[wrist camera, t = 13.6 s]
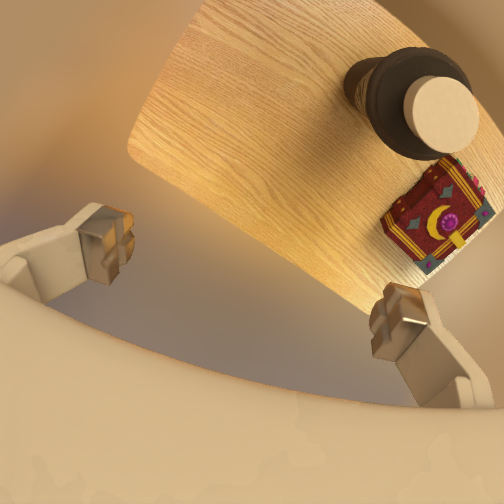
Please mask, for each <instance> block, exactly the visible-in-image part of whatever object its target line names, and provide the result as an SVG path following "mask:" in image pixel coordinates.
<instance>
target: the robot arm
mask: <svg viewBox="0 0 504 504" xmlns="http://www.w3.org/2000/svg"><path fill="white" fill-rule="evenodd" d="M133 225H134V220H133V215H132V214H131V213H130V212H127V211H123V210H120V209H116V208H113V207H109V206H105V205H101V204H98V203H89V204H88V205H87V206H86V207H84V208H83V209H82V210H81V211H80V212H78V213H77V214H76V215H75V216H74V217H72V218H71V219H70V220H69V221H68V222H67V223H66V224H64V225H63V226H60V225H58V226H55V227H52V228H49V229H46V230H43V231H40V232H37V233H34V234H31V235H28V236H25V237H23V238H20V239H17V240H14V241H11V242H9V243H6V244H3V245H1V246H0V504H504V408H495V404H494V400H493V395H492V392H491V388H490V384H489V380H488V378H487V376H486V375H485V374H484V372H483V371H482V370H481V369H480V367H479V366H478V365H477V364H476V363H475V361H474V360H473V359H472V358H471V356H470V355H469V354H468V353H467V352H466V351H465V349H464V348H463V347H462V346H461V345H460V343H459V342H458V341H457V340H456V339H455V338H454V337H453V335H452V334H451V333H450V332H449V331H448V330H447V329H444V328H443V324H442V321H441V318H440V315H439V312H438V309H437V306H436V304H435V301H434V298H433V295H432V294H431V293H430V292H429V291H425V290H421V289H415V288H411V287H408V286H404V285H400V284H396V283H392V282H390V283H389V284H387V285H386V287H385V289H384V290H383V295H384V298H382V299H380V300H378V301H377V302H376V303H375V305H374V307H373V309H372V312H371V315H370V321H369V325H370V330H371V332H372V333H373V334H374V337H373V339H372V340H371V345H372V355H373V358H377V359H382V360H387V361H392V362H396V363H395V364H396V366H397V368H398V369H399V371H400V373H401V375H402V376H403V378H404V380H405V382H406V383H407V385H408V387H409V389H410V391H411V392H412V394H413V396H414V398H415V400H416V402H417V403H418V405H419V407H408V406H397V405H386V404H376V403H368V402H360V401H353V400H346V399H339V398H332V397H326V396H320V395H315V394H309V393H304V392H299V391H293V390H289V389H284V388H279V387H275V386H270V385H266V384H262V383H258V382H253V381H249V380H245V379H242V378H238V377H234V376H230V375H227V374H223V373H219V372H216V371H212V370H209V369H206V368H202V367H199V366H196V365H192V364H189V363H186V362H183V361H180V360H177V359H174V358H171V357H168V356H165V355H162V354H159V353H156V352H154V351H151V350H148V349H145V348H143V347H140V346H137V345H134V344H132V343H129V342H127V341H124V340H122V339H119V338H117V337H114V336H112V335H109V334H107V333H104V332H102V331H100V330H97V329H95V328H93V327H91V326H88V325H86V324H84V323H81V322H79V321H77V320H75V319H73V318H71V317H68V316H66V315H64V314H62V313H60V312H58V311H56V310H54V309H52V308H50V307H48V306H46V305H44V304H46V303H48V302H49V301H51V300H53V299H54V298H56V297H58V296H60V295H61V294H63V293H65V292H67V291H68V290H70V289H72V288H74V287H76V286H78V285H79V284H81V283H83V282H85V281H87V279H90V280H93V281H96V282H99V283H102V284H105V285H108V286H110V284H111V283H112V282H113V280H114V279H115V278H116V277H117V275H118V274H119V267H120V266H122V265H125V264H127V262H128V261H129V259H130V258H131V256H132V253H133V250H134V243H135V240H134V235H133V234H132V232H131V230H130V229H131V227H132V226H133Z"/></svg>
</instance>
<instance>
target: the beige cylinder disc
mask: <svg viewBox="0 0 504 504" xmlns="http://www.w3.org/2000/svg"><path fill="white" fill-rule="evenodd" d="M404 115H405V119H406V122H407V124H408V126H409V128H410V129H411V131H412V132H413V133H414V135H416V136H417V137H418V138H419V139H420V140H421V141H423V142H424V143H425V144H426V145H428V146H429V147H430V148H432V149H434V150H436V151H438V152H442V153H455V152H458V151H461V150H463V149H464V148H466V147H467V146H468V145H469V144H470V143H471V142H472V141H473V139H474V137H475V136H476V133H477V130H478V126H479V111H478V106H477V103H476V101H475V99H474V97H473V95H472V94H471V92H470V91H469V90H468V89H467V88H466V87H465V86H464V85H463V84H462V83H460V82H459V81H457V80H455V79H452V78H448V77H442V76H434V75H430V76H424V77H421V78H419V79H418V80H416V81H415V82H414V83H413V84H412V85H411V86H410V87H409V89H408V91H407V93H406V95H405V99H404Z"/></svg>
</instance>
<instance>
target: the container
mask: <svg viewBox="0 0 504 504" xmlns="http://www.w3.org/2000/svg"><path fill="white" fill-rule="evenodd" d="M430 75H434V76H442V77H448V78H452V79H455V80H457V81H459V82H460V83H462V84H463V85H464V86H465V87H466V88H467V89H468V90H469V91H470V92H471V94H472V95H473V93H472V89H471V86H470V83H469V81H468V79H467V77H466V75H465V74H464V72H463V71H462V69H461V68H460V67H459V66H458V65H457V63H456V62H454V61H453V60H452V59H451V58H449V57H448V56H447V55H445V54H443V53H441V52H439V51H437V50H434V49H431V48H426V47H420V48H417V47H407V48H403V49H400V50H397V51H395V52H393V53H391V54H390V55H388V56H387V57H376V58H368V59H364V60H362V61H359V62H357V63H356V64H354V65H353V66H352V67H351V68H350V70H349V71H348V73H347V75H346V77H345V81H344V92H345V95H346V97H347V99H348V101H349V102H350V104H351V105H352V106H354V107H355V108H356V109H357V110H358V111H359V112H361V113H362V114H363V115H364V116H366V117H367V118H368V119H369V120H370V122H371V124H372V127H373V128H374V130H375V132H376V134H377V135H378V136H379V138H380V139H381V140H382V141H383V142H384V143H385V144H386V145H387V146H388V147H389V148H391V149H392V150H393V151H395V152H396V153H398V154H400V155H402V156H405V157H407V158H411V159H415V160H421V161H429V160H436V159H439V158H442V157H445V156H447V155H449V154H450V153H442V152H438V151H436V150H434V149H432V148H430V147H429V146H428V145H426V144H425V143H424V142H423V141H421V140H420V139H419V138H418V137H417V136H416V135H414V133H413V132H412V131H411V129H410V128H409V126H408V124H407V122H406V119H405V115H404V99H405V95H406V93H407V91H408V89H409V87H410V86H411V85H412V84H413V83H414V82H415V81H416V80H418V79H419V78H421V77H424V76H430Z"/></svg>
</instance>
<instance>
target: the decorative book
mask: <svg viewBox="0 0 504 504" xmlns="http://www.w3.org/2000/svg"><path fill="white" fill-rule="evenodd" d="M466 171H467V170H466V169H465V167H464V166H463V165H462V163H461V162H460V161H459V159H458V158H457V160H455V159H454V158H453V157H452V156H450V155H447V156H445V157H443V158H442V159H441V160H440V161H439V162H438V163H437V164H436V165H435V166H433V165H431V166H430V167H429V168H428V170H427V171H426V172H425V173H424V174H423V175H424V177H423V178H422V180H421V181H420V182H419V183H418V184H417V185H416V186H415V187H414V188H412V189H411V190H410V191H409V192H408V193H407V194H406V195H405V196H404V197H403V196H401V197H400V198H398V199H397V200H396V201H395V202H394V203H393V204H392V205H393V208H392V209H391V210H390V211H389V212H388V213H387V214H386V215H385V216H384V217H383V218H382V219H380V221H381V224H382V227H383V230H384V233H385V234H386V235H387V236H388V237H390V238H391V239H392V240H393V241H394V242H395V243H396V244H397V245H398V246H399V247H400V248H401V249H402V250H403V251H404V252H405V253H406V254H407V255H409V256H410V257H411V258H412V259H413V262H414V263H415V264H416V265H417V266H418V267H419V268H420V269H421V270H422V271H423V272H424V273H425V274H426V275H428V274H429V273H430V272H432V271H433V270H434V269H435V268H436V267H438V266H439V265H440V264H441V263H442V262H443V261H445V260H444V259H445V258H446V257H447V256H448V255H449V254H451V253H452V252H453V251H454V250H455V249H456V248H458V249H460V248H461V247H462V246H464V245H465V244H466V242H465V240H466V239H467V238H468V237H470V236H471V235H472V234H473V233H474V232H475V231H476V230H477V229H478V230H479V229H480V228H481V227H482V226H483V225H484V224H485V223H486V222H488V221H489V220H490V219H491V218H492V217H493V216H494V215H495V214H496V213H495V212H494V210H493V209H492V207H491V206H490V204H489V203H488V201H487V200H486V198H485V197H484V194H485V191H484V189H483V188H482V186H481V189H479V187H478V183H479V181H478V179H477V178H476V176H474V179H473V181H472V180H471V176H470V175H469V173H468V172H467V173H466Z"/></svg>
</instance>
